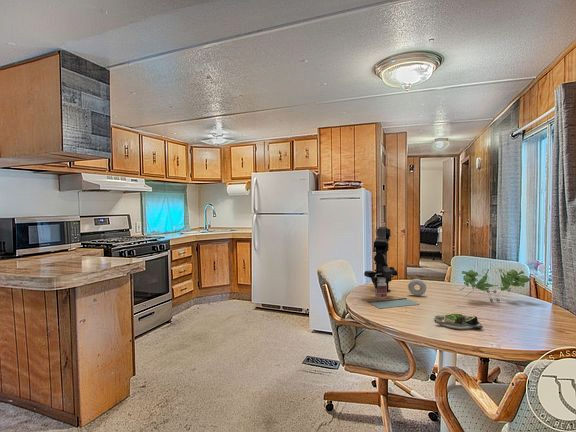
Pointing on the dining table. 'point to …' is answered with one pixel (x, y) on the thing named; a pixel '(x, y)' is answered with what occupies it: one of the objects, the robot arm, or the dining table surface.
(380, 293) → the pill bottle
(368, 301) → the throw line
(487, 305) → the dining table surface
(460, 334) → the dining table surface
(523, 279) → the plant cuttings
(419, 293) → the donut
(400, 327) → the dining table surface
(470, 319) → the salad plate
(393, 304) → the mat
